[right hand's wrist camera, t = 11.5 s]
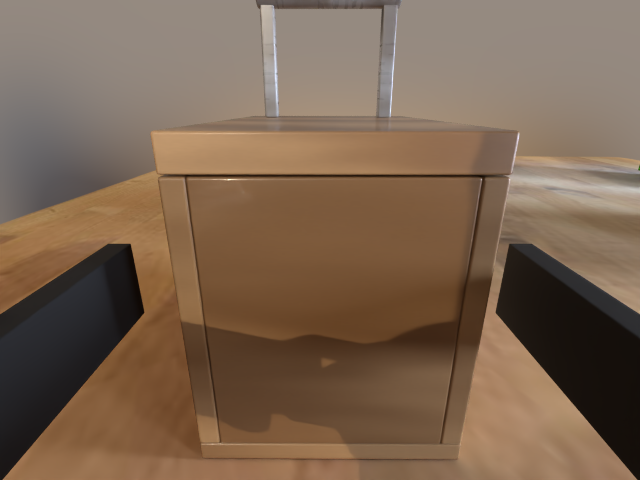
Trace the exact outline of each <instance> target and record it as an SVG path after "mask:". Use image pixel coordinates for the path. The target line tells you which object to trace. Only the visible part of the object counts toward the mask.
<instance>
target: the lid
mask: <svg viewBox="0 0 640 480" xmlns="http://www.w3.org/2000/svg"><path fill="white" fill-rule="evenodd" d="M401 1H402V0H256V3H257V6H258V8H259V9H260V17H261V36H262V56H263V76H264V96H265V115H266V116H253V117H245V118H238V119H231V120H224V121H217V122H211V123H204V124H197V125H190V126H183V127H176V128H169V129H162V130H155V131H152V132H151V140H152V146H153V153H154V159H155V165H156V171H157V174H160V175H510V174H512V171H513V166H514V160H515V155H516V150H517V145H518V139H519V132H518V131H514V130H506V129H498V128H490V127H482V126H474V125H466V124H458V123H450V122H442V121H434V120H426V119H418V118H410V117H402V116H390V113H391V99H392V83H393V68H394V53H395V37H396V22H397V9H398V8H399V7H400V4H401ZM275 9H382V17H381V37H380V56H379V74H378V93H377V112H376V116H279V102H278V75H277V49H276V23H275Z"/></svg>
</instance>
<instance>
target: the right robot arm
mask: <svg viewBox="0 0 640 480" xmlns="http://www.w3.org/2000/svg"><path fill="white" fill-rule="evenodd" d="M143 314H144V308H143V303H142V298H141V293H140V288H139V283H138V278H137V273H136V268H135V263H134V259H133V254H132V249H131V244H107V245H106V246H104V247H103V248H101V249H100V250H98V251H97V252H95V253H94V254H92V255H91V256H89V257H88V258H86V259H84V260H83V261H81V262H80V263H78V264H77V265H75V266H74V267H72V268H71V269H69V270H68V271H66V272H65V273H63V274H61V275H60V276H58V277H57V278H55V279H54V280H52V281H51V282H49V283H48V284H46V285H45V286H43V287H42V288H40V289H38V290H37V291H35V292H34V293H32V294H31V295H29V296H28V297H26V298H25V299H23V300H22V301H20V302H19V303H17V304H15V305H14V306H12V307H11V308H9V309H8V310H6V311H5V312H3V313H2V314H0V480H3V479H4V477H5V476H6V475H7V474H8V473H9V471H10V470H11V469H12V468H13V467H14V466H15V464H16V463H17V462H18V461H19V460H20V459H21V457H22V456H23V455H24V454H25V453H26V451H27V450H28V449H29V448H30V447H31V446H32V444H33V443H34V442H35V441H36V440H37V438H38V437H39V436H40V435H41V434H42V433H43V431H44V430H45V429H46V428H47V427H48V426H49V424H50V423H51V422H52V421H53V420H54V418H55V417H56V416H57V415H58V414H59V413H60V411H61V410H62V409H63V408H64V407H65V406H66V404H67V403H68V402H69V401H70V400H71V398H72V397H73V396H74V395H75V394H76V393H77V391H78V390H79V389H80V388H81V387H82V386H83V384H84V383H85V382H86V381H87V380H88V378H89V377H90V376H91V375H92V374H93V373H94V371H95V370H96V369H97V368H98V367H99V365H100V364H101V363H102V362H103V361H104V360H105V358H106V357H107V356H108V355H109V354H110V353H111V351H112V350H113V349H114V348H115V347H116V345H117V344H118V343H119V342H120V341H121V340H122V338H123V337H124V336H125V335H126V334H127V333H128V331H129V330H130V329H131V328H132V327H133V325H134V324H135V323H136V322H137V321H138V320H139V318H140V317H141V316H142V315H143ZM496 314H497V315H498V316H499V317H500V318H501V320H502V321H503V322H504V323H505V324H506V325H507V327H508V328H509V329H510V330H511V331H512V333H513V334H514V335H515V336H516V337H517V338H518V340H519V341H520V342H521V343H522V344H523V345H524V347H525V348H526V349H527V350H528V351H529V353H530V354H531V355H532V356H533V357H534V358H535V360H536V361H537V362H538V363H539V364H540V365H541V367H542V368H543V369H544V370H545V371H546V373H547V374H548V375H549V376H550V377H551V378H552V380H553V381H554V382H555V383H556V384H557V386H558V387H559V388H560V389H561V390H562V391H563V393H564V394H565V395H566V396H567V397H568V398H569V400H570V401H571V402H572V403H573V404H574V406H575V407H576V408H577V409H578V410H579V411H580V413H581V414H582V415H583V416H584V417H585V418H586V420H587V421H588V422H589V423H590V424H591V426H592V427H593V428H594V429H595V430H596V431H597V433H598V434H599V435H600V436H601V437H602V438H603V440H604V441H605V442H606V443H607V444H608V446H609V447H610V448H611V449H612V450H613V451H614V453H615V454H616V455H617V456H618V457H619V459H620V460H621V461H622V462H623V463H624V464H625V466H626V467H627V468H628V469H629V470H630V471H631V473H632V474H633V475H634V476H635V477H636V479H637V480H640V314H638V313H637V312H635V311H634V310H632V309H631V308H629V307H628V306H626V305H625V304H623V303H621V302H620V301H618V300H617V299H615V298H614V297H612V296H611V295H609V294H608V293H606V292H605V291H603V290H602V289H600V288H598V287H597V286H595V285H594V284H592V283H591V282H589V281H588V280H586V279H585V278H583V277H582V276H580V275H579V274H577V273H575V272H574V271H572V270H571V269H569V268H568V267H566V266H565V265H563V264H562V263H560V262H559V261H557V260H556V259H554V258H552V257H551V256H549V255H548V254H546V253H545V252H543V251H542V250H540V249H539V248H537V247H536V246H534V245H533V244H509V249H508V254H507V259H506V263H505V268H504V273H503V278H502V283H501V288H500V293H499V298H498V303H497V308H496Z"/></svg>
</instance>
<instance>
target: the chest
mask: <svg viewBox="0 0 640 480" xmlns="http://www.w3.org/2000/svg"><path fill="white" fill-rule="evenodd" d="M158 183H159V189H160V196H161V202H162V208H163V214H164V220H165V227H166V233H167V239H168V245H169V252H170V258H171V264H172V270H173V276H174V283H175V289H176V295H177V301H178V308H179V314H180V320H181V326H182V332H183V339H184V345H185V351H186V357H187V364H188V370H189V376H190V382H191V389H192V395H193V401H194V407H195V413H196V420H197V426H198V432H199V438H200V442H201V443H200V446H201V452H202V457H203V458H299V459H458V457H459V452H460V446H461V445H460V443H461V439H462V434H463V429H464V424H465V418H466V413H467V408H468V402H469V397H470V392H471V387H472V381H473V376H474V371H475V365H476V360H477V355H478V350H479V344H480V339H481V334H482V328H483V323H484V318H485V313H486V307H487V302H488V297H489V291H490V286H491V281H492V276H493V270H494V265H495V260H496V254H497V249H498V244H499V239H500V233H501V228H502V223H503V217H504V212H505V207H506V202H507V196H508V191H509V186H510V178H509V177H506V176H504V175H163V176H161V177H159V178H158Z"/></svg>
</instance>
